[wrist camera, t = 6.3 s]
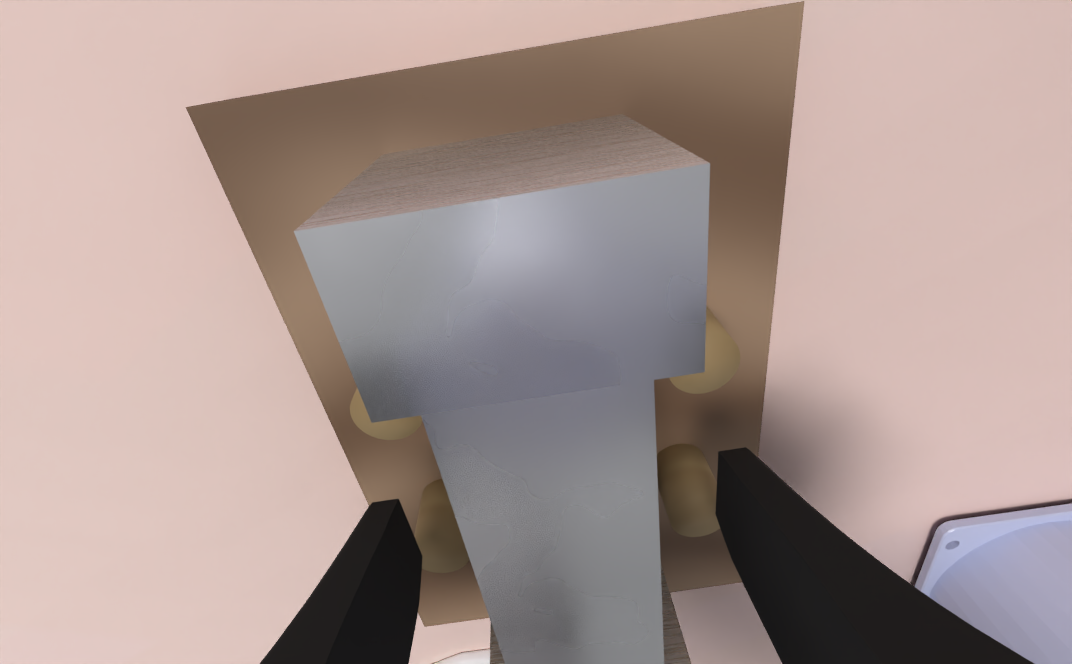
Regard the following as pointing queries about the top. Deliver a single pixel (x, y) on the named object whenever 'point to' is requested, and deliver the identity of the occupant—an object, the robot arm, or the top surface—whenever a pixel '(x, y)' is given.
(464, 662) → the decorative candle
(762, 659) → the top surface
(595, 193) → the grey i-beam block
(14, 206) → the top surface
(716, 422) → the peg board
